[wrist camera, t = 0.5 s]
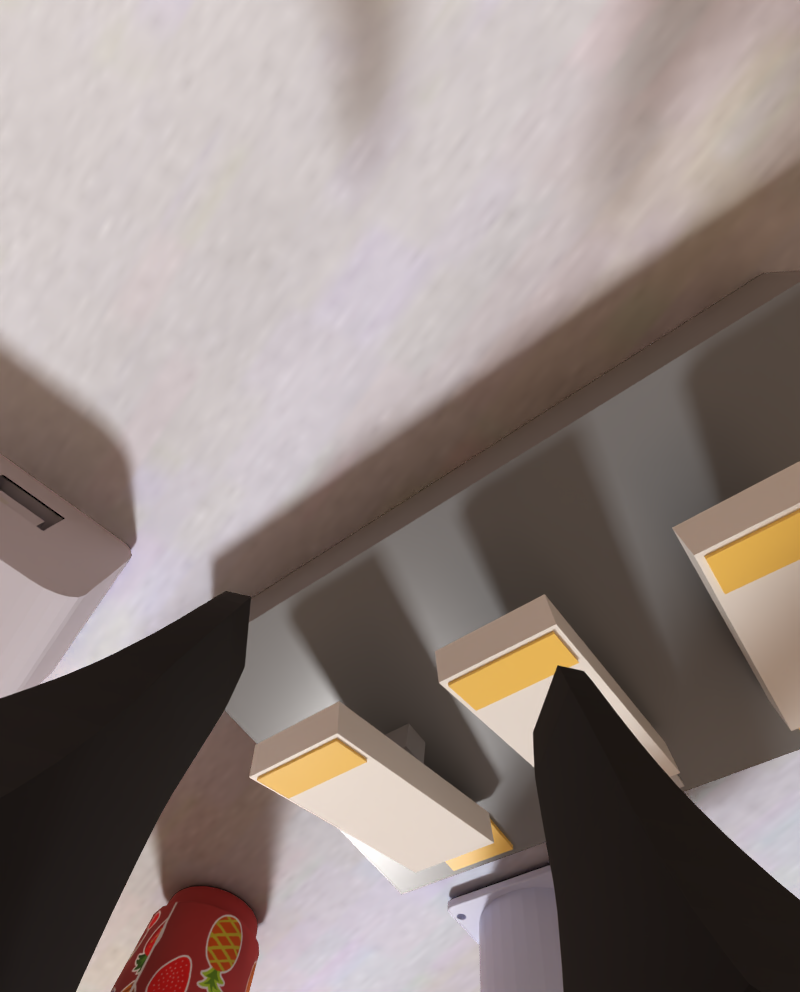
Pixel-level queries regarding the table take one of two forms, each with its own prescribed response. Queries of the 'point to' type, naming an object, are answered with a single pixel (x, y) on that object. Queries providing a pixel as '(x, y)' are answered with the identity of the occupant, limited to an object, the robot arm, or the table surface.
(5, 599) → the charger
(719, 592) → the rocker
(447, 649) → the block
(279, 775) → the block
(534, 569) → the switch panel
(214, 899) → the smoothie
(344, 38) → the table surface
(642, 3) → the table surface
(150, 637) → the robot arm
